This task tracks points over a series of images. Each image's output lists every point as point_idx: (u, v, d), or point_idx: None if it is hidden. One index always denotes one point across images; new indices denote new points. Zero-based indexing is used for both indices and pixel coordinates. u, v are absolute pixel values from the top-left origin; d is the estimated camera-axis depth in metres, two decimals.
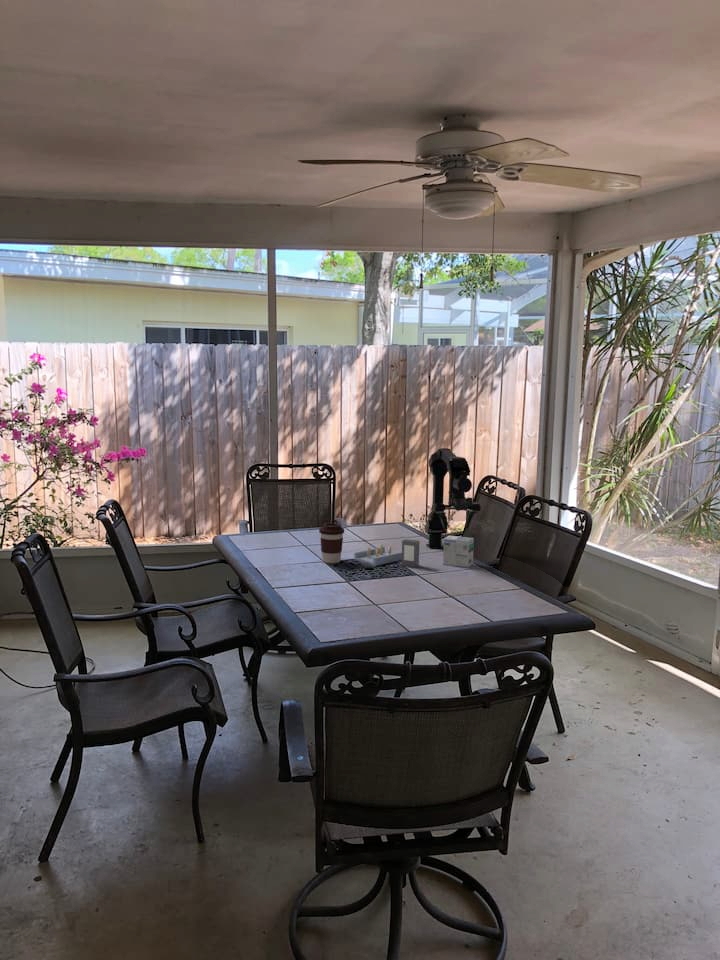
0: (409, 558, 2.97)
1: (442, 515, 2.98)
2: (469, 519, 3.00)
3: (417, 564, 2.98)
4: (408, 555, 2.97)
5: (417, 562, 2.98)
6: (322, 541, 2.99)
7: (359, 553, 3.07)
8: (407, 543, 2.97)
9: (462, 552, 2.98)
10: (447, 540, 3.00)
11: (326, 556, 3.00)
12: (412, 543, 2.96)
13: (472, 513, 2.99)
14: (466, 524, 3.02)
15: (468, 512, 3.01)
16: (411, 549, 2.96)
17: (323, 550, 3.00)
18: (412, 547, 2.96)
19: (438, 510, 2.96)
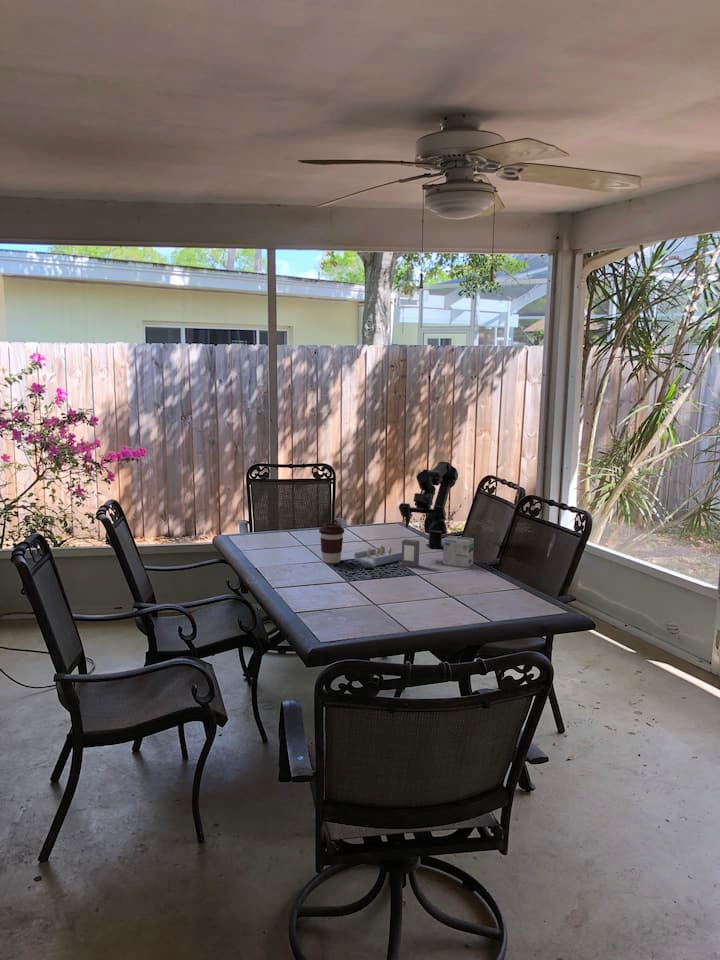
0: (409, 558, 2.97)
1: (405, 512, 3.08)
2: (431, 520, 3.04)
3: (417, 564, 2.98)
4: (408, 555, 2.97)
5: (417, 562, 2.98)
6: (322, 541, 2.99)
7: (359, 553, 3.07)
8: (407, 543, 2.97)
9: (462, 552, 2.98)
10: (447, 540, 3.00)
11: (326, 556, 3.00)
12: (412, 543, 2.96)
13: (434, 513, 3.04)
14: None
15: None
16: (411, 549, 2.96)
17: (323, 550, 3.00)
18: (412, 547, 2.96)
19: (401, 506, 3.09)
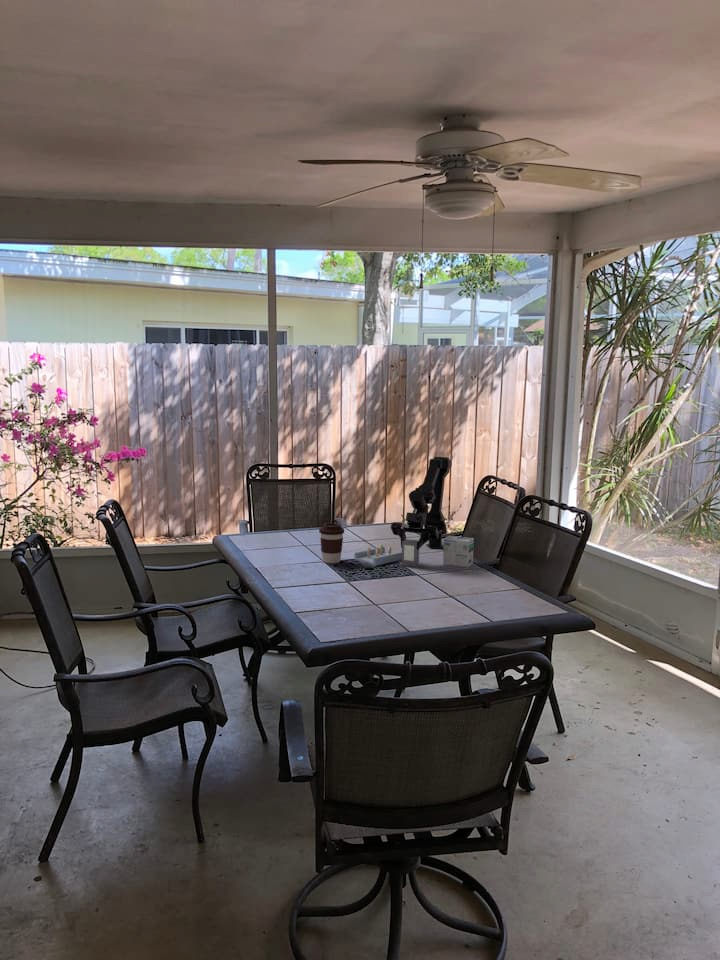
0: (409, 558, 2.97)
1: (400, 532, 3.00)
2: (420, 539, 2.97)
3: (417, 564, 2.98)
4: (408, 555, 2.97)
5: (417, 562, 2.98)
6: (322, 541, 2.99)
7: (359, 553, 3.07)
8: (407, 543, 2.97)
9: (462, 552, 2.98)
10: (447, 540, 3.00)
11: (326, 556, 3.00)
12: (412, 543, 2.96)
13: (423, 532, 2.97)
14: None
15: None
16: (411, 549, 2.96)
17: (323, 550, 3.00)
18: (412, 547, 2.96)
19: (393, 525, 3.02)
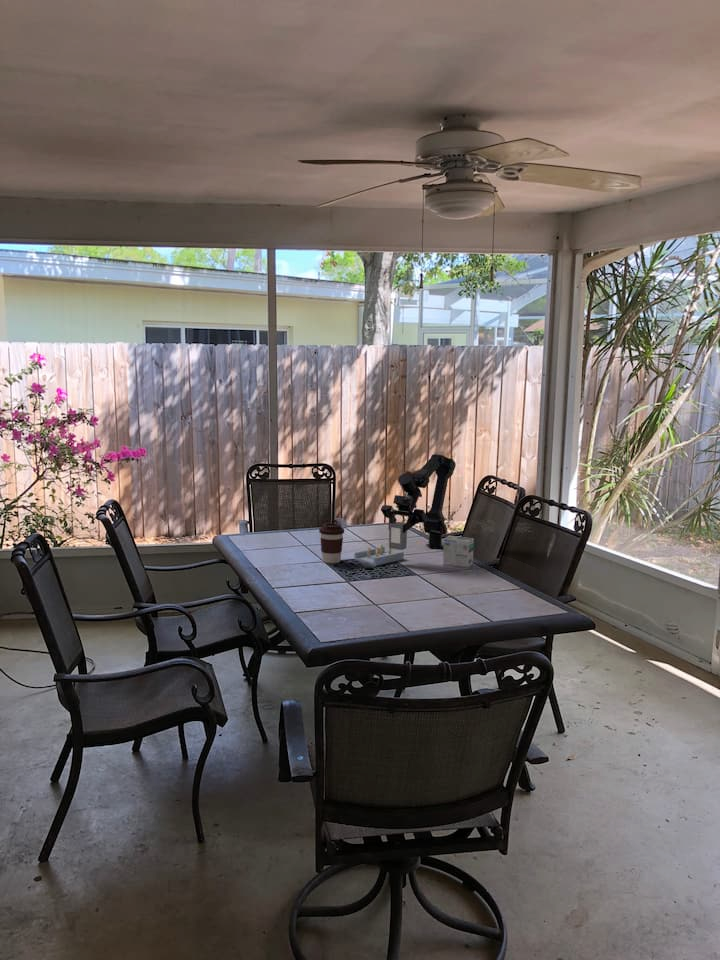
0: (396, 540, 2.99)
1: (389, 515, 3.03)
2: (407, 522, 2.98)
3: (404, 547, 2.99)
4: (395, 537, 2.99)
5: (404, 545, 2.99)
6: (322, 541, 2.99)
7: (359, 553, 3.07)
8: (394, 525, 2.98)
9: (462, 552, 2.98)
10: (447, 540, 3.00)
11: (326, 556, 3.00)
12: (398, 526, 2.97)
13: (410, 515, 2.98)
14: (404, 528, 2.98)
15: None
16: (397, 531, 2.98)
17: (323, 550, 3.00)
18: (398, 530, 2.98)
19: (383, 508, 3.05)
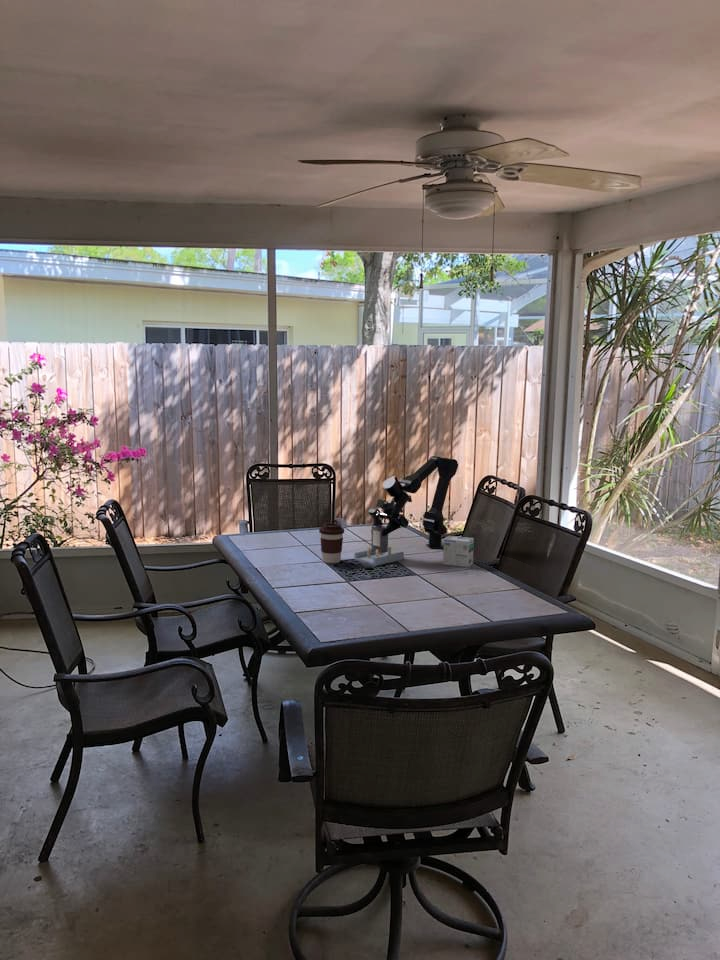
0: (377, 543, 3.05)
1: (374, 518, 3.10)
2: (387, 526, 3.03)
3: (384, 550, 3.05)
4: (376, 540, 3.05)
5: (384, 548, 3.05)
6: (322, 541, 2.99)
7: (359, 553, 3.07)
8: (375, 528, 3.05)
9: (462, 552, 2.98)
10: (447, 540, 3.00)
11: (326, 556, 3.00)
12: (378, 529, 3.04)
13: (390, 519, 3.03)
14: None
15: None
16: (378, 534, 3.04)
17: (323, 550, 3.00)
18: (378, 533, 3.04)
19: (369, 511, 3.12)
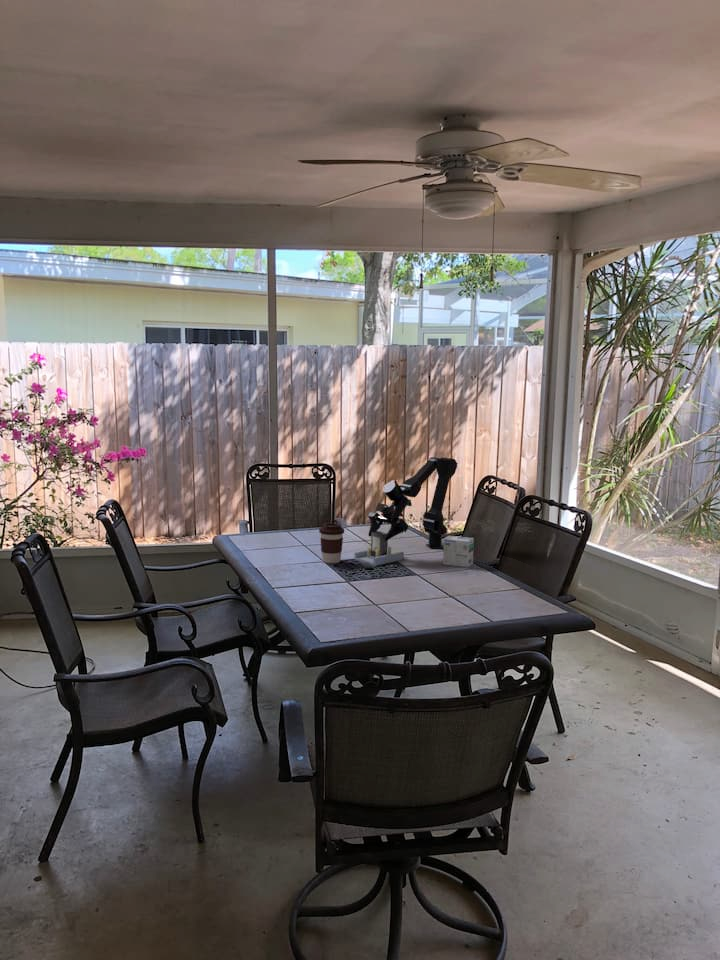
0: (376, 549, 3.05)
1: (371, 521, 3.11)
2: (389, 531, 3.02)
3: None
4: (375, 546, 3.06)
5: (384, 554, 3.05)
6: (322, 541, 2.99)
7: (359, 553, 3.07)
8: (375, 535, 3.05)
9: (462, 552, 2.98)
10: (447, 540, 3.00)
11: (326, 556, 3.00)
12: (378, 535, 3.04)
13: (392, 524, 3.02)
14: None
15: None
16: (377, 540, 3.05)
17: (323, 550, 3.00)
18: (378, 539, 3.04)
19: (369, 514, 3.12)
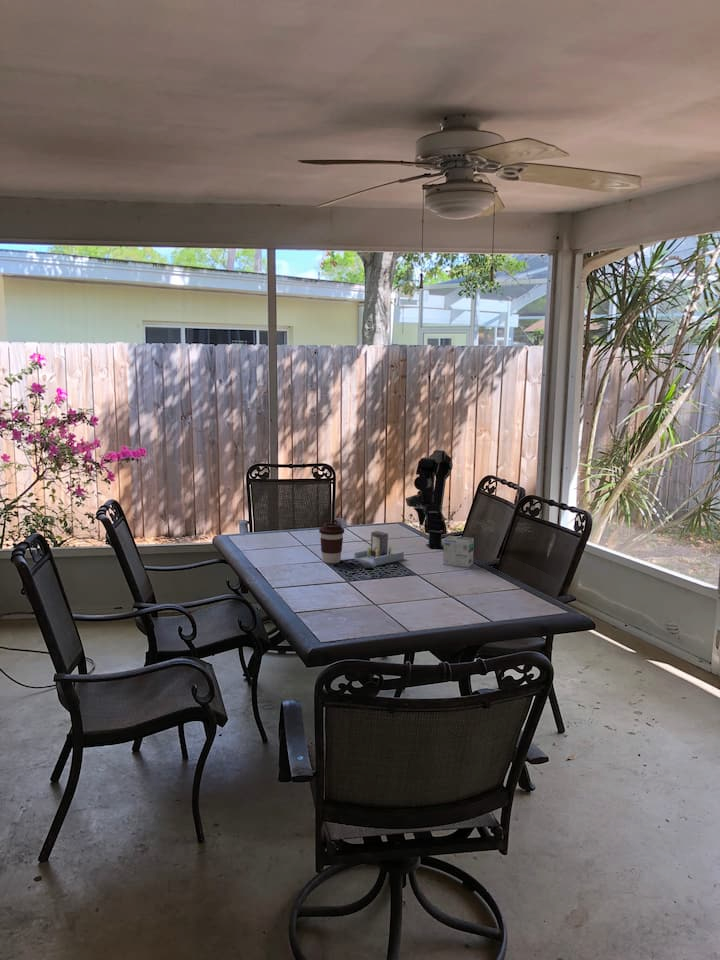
0: (376, 549, 3.05)
1: (416, 511, 3.16)
2: (426, 519, 3.06)
3: None
4: (375, 546, 3.06)
5: (384, 554, 3.05)
6: (322, 541, 2.99)
7: (359, 553, 3.07)
8: (375, 535, 3.05)
9: (462, 552, 2.98)
10: (447, 540, 3.00)
11: (326, 556, 3.00)
12: (378, 535, 3.04)
13: (424, 513, 3.04)
14: None
15: None
16: (377, 540, 3.05)
17: (323, 550, 3.00)
18: (378, 539, 3.04)
19: None
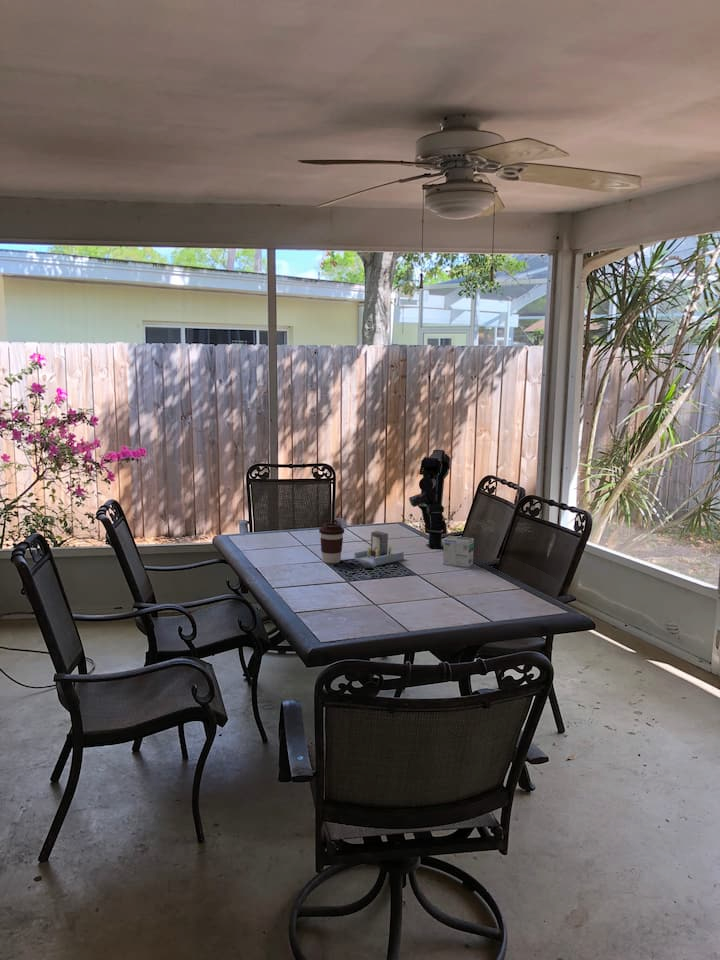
0: (376, 549, 3.05)
1: None
2: (430, 519, 3.06)
3: None
4: (375, 546, 3.06)
5: (384, 554, 3.05)
6: (322, 541, 2.99)
7: (359, 553, 3.07)
8: (375, 535, 3.05)
9: (462, 552, 2.98)
10: (447, 540, 3.00)
11: (326, 556, 3.00)
12: (378, 535, 3.04)
13: (428, 513, 3.05)
14: None
15: None
16: (377, 540, 3.05)
17: (323, 550, 3.00)
18: (378, 539, 3.04)
19: None
